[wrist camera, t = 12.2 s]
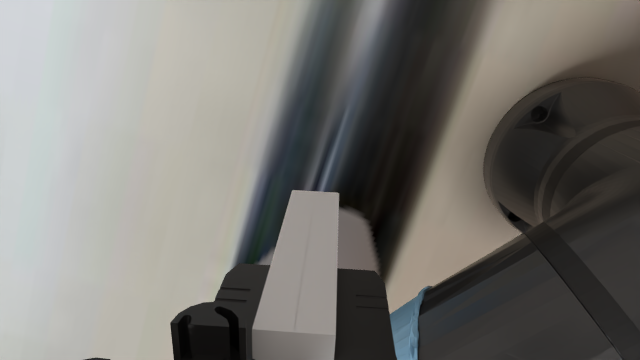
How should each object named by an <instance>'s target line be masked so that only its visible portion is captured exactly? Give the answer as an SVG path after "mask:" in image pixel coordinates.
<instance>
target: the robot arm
mask: <svg viewBox="0 0 640 360" xmlns="http://www.w3.org/2000/svg"><path fill="white" fill-rule="evenodd" d="M484 181H485V186H486V189H487V192H488V195H489V197H490V199H491V201H492V202H493V204H494V205H495V207H496V208H497V210H498V211H499V212H500V213H501V214H502V216H503V217H504V218H505V219H506V220H507V221H508V222H509V223H510V224H511V225H512V226H513V227H514V228H516V229H517V230H519V231H520V232H522V234H521V235H519V236H518V237H516V238H514V239H513V240H511V241H509V242H508V243H506V244H504V245H503V246H501V247H499V248H498V249H496V250H495V251H493V252H491V253H490V254H488V255H486V256H485V257H483V258H481V259H479V260H478V261H476V262H474V263H473V264H471V265H469V266H467V267H466V268H464V269H462V270H461V271H459V272H457V273H455V274H454V275H452V276H450V277H449V278H447V279H445V280H443V281H442V282H440V283H438V284H437V285H435V286H433V287H432V286H427V287H425V288H423V289H422V290H421V291H420V292H419V294H418V296H416V297H415V298H413V299H412V300H411V301H409V302H408V303H406V304H405V305H403V306H402V307H400V308H399V309H397V310H396V311H394V312H393V313H391V314H389V311H388V309H389V308H388V301H387V295H386V289H385V283H384V282H383V280H382V279H381V278H380V277H379V276H378V274H377V273H376V272H375V271H368V270H353V269H338V268H337V255H338V252H337V251H338V213H339V193H332V192H315V191H298V190H292V193H291V197H290V200H289V204H288V207H287V210H286V214H285V217H284V221H283V224H282V228H281V231H280V235H279V238H278V241H277V245H276V248H275V252H274V255H273V259H272V262H271V265H256V264H240V263H239V264H238V265H237V266H235V267H234V268H233V269H232V270H231V271H229V272H228V273H227V274H226V276H225V278H224V280H223V282H222V284H221V287H220V290H219V291H218V293H217V295H216V298H215V301H214V302H206V303H201V304H198V305H194V306H191V307H189V308H187V309H185V310H184V311H182V312H180V313H179V314H178V315H177V316H176V317H175V318H174V319H173V320H172V322H171V323H170V324H171V334H172V344H173V354H174V360H640V92H638V91H636V90H634V89H633V88H630V87H628V86H625V85H622V84H619V83H615V82H611V81H607V80H603V79H597V78H572V79H566V80H561V81H558V82H554V83H552V84H549V85H546V86H544V87H542V88H540V89H538V90H536V91H534V92H532V93H531V94H529V95H528V96H526V97H525V98H523V99H522V100H521V101H519V102H518V103H517V104H516V105H515V106H514V107H512V108H511V109H510V110H509V111H508V113H507V114H506V115H505V116H504V117H503V118H502V120H501V121H500V122H499V124H498V125H497V127H496V129H495V130H494V132H493V134H492V136H491V138H490V141H489V143H488V146H487V149H486V153H485V158H484ZM85 360H110V359H103V358H91V359H85Z"/></svg>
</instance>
